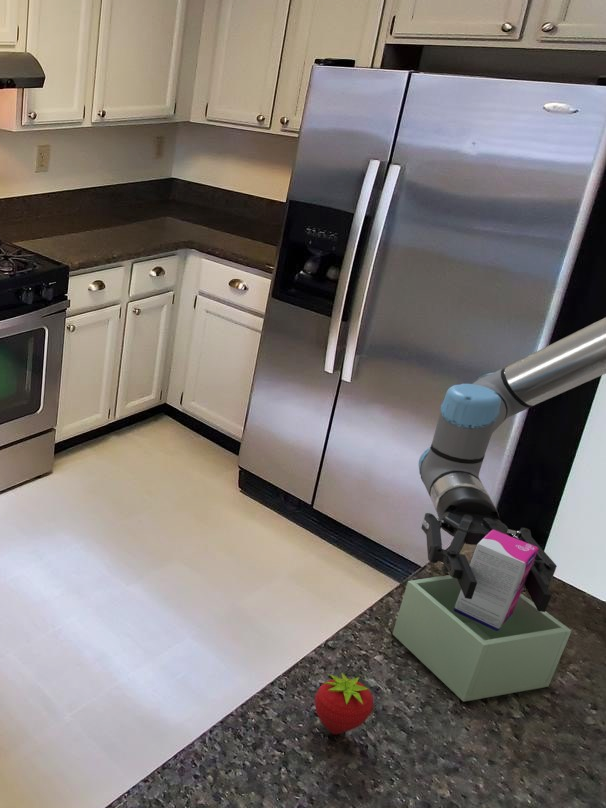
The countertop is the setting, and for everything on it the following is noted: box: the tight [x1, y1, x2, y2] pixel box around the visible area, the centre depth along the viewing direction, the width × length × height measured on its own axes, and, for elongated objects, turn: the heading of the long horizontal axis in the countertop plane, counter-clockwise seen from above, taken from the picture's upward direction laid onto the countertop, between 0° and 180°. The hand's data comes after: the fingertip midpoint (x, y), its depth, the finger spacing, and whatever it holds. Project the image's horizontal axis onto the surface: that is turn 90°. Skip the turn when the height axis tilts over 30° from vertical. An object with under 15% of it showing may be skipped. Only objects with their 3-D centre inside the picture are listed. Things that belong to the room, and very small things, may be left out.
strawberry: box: [314, 672, 374, 735], centre depth 100 cm, size 6×8×10 cm
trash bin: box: [392, 574, 572, 703], centre depth 112 cm, size 14×14×10 cm
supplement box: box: [453, 530, 539, 631], centre depth 108 cm, size 6×6×12 cm
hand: (507, 596), depth 103 cm, fingers closed on supplement box, 8 cm apart
